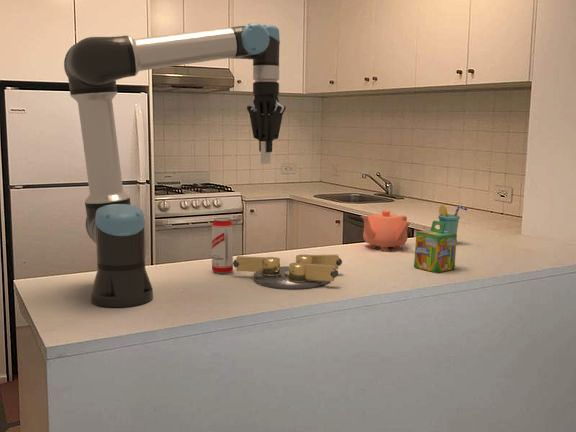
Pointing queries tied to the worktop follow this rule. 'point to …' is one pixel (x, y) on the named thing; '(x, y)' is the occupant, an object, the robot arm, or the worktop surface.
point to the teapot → (385, 230)
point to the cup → (449, 219)
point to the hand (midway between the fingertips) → (265, 163)
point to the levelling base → (285, 281)
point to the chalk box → (435, 249)
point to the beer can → (222, 245)
